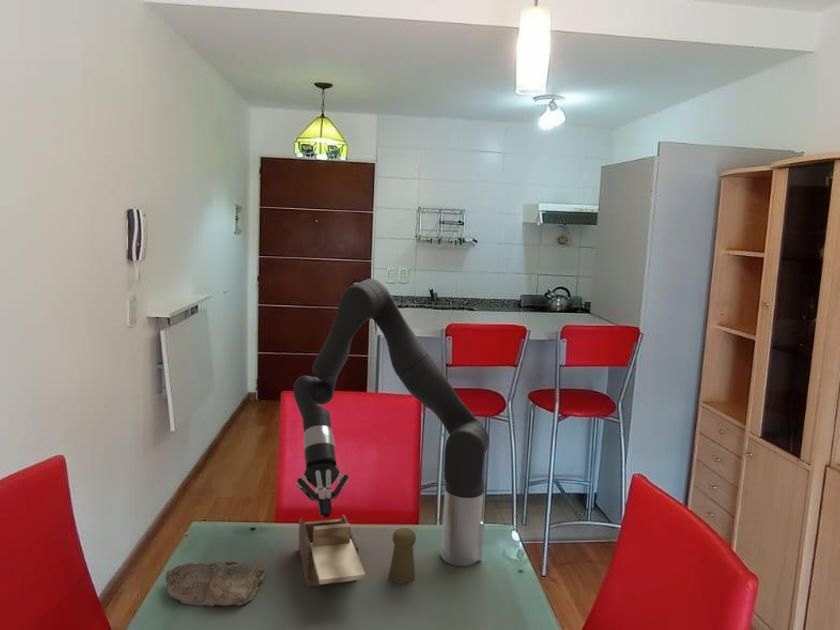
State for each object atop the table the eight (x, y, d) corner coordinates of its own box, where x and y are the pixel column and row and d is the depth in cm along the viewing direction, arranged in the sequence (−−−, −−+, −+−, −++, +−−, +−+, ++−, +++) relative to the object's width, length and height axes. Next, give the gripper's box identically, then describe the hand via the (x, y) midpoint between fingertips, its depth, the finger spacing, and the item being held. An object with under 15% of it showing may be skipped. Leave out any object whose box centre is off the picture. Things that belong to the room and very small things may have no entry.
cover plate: (350, 542, 146) (351, 522, 145) (365, 578, 132) (366, 556, 132) (309, 547, 143) (310, 526, 143) (319, 584, 130) (320, 561, 129)
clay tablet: (151, 606, 131) (248, 612, 131) (151, 583, 131) (248, 590, 130) (179, 570, 145) (267, 575, 145) (179, 549, 145) (267, 555, 144)
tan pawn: (383, 575, 147) (385, 530, 145) (401, 565, 151) (404, 521, 149) (402, 586, 143) (404, 540, 141) (420, 576, 147) (423, 531, 145)
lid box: (343, 545, 159) (344, 514, 158) (356, 581, 144) (358, 547, 143) (298, 549, 155) (299, 518, 154) (307, 587, 140) (308, 553, 139)
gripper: (294, 443, 156) (299, 513, 146) (347, 439, 160) (356, 508, 150) (291, 455, 162) (296, 524, 152) (343, 452, 166) (351, 518, 156)
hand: (326, 516), depth 151 cm, fingers closed
